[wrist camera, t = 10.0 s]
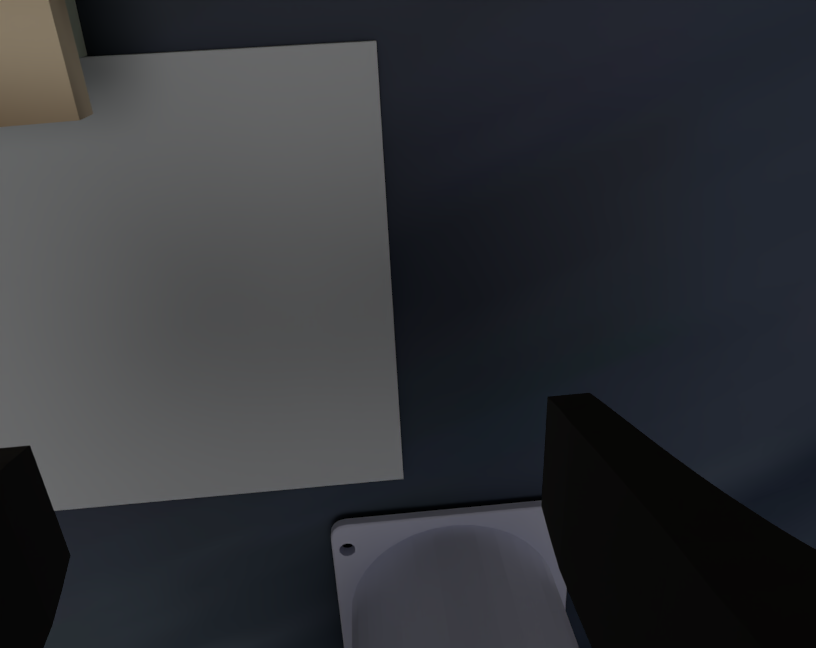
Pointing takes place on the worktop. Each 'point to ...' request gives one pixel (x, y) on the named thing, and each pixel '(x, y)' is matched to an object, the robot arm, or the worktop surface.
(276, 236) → the mat
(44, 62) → the lid
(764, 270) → the worktop surface
